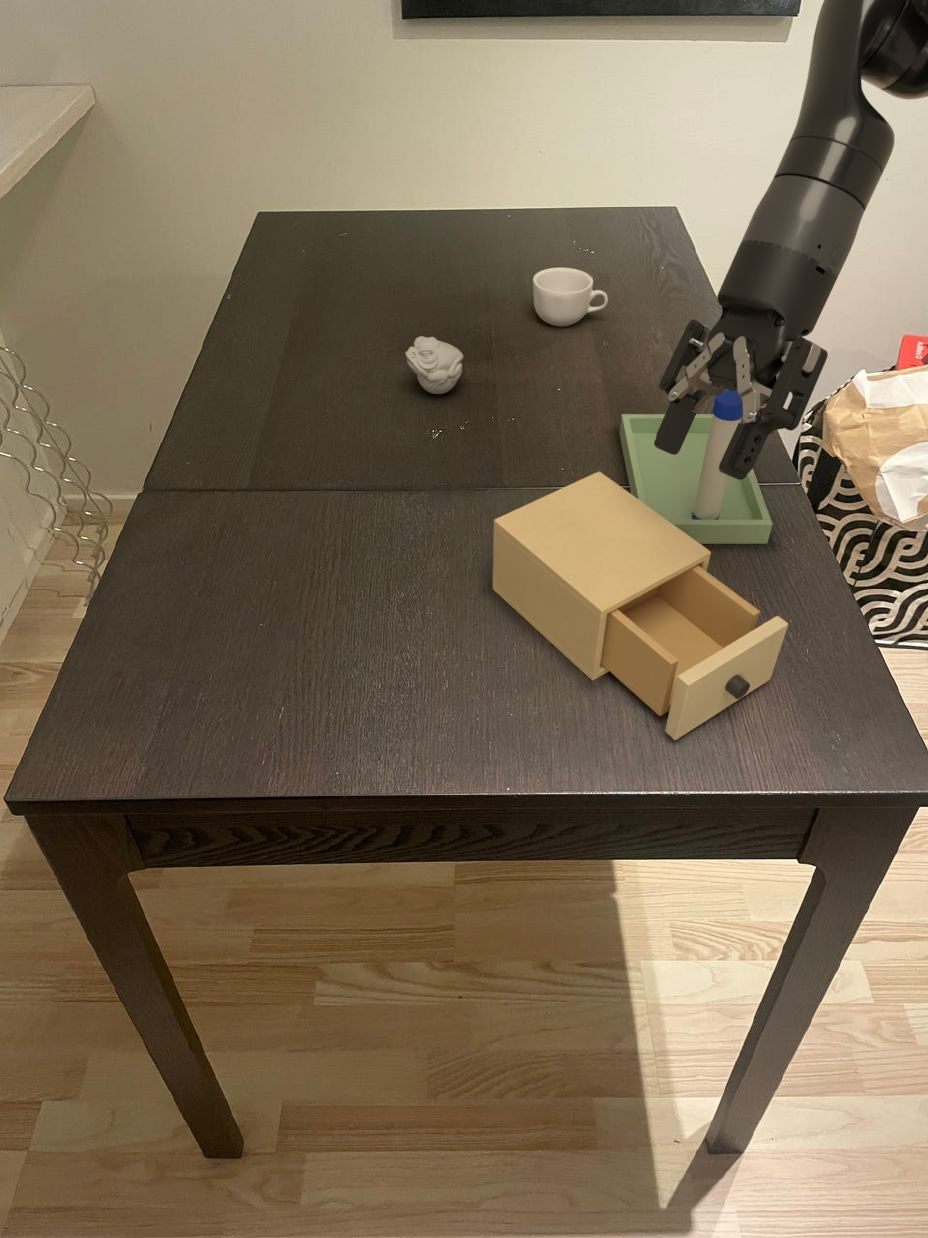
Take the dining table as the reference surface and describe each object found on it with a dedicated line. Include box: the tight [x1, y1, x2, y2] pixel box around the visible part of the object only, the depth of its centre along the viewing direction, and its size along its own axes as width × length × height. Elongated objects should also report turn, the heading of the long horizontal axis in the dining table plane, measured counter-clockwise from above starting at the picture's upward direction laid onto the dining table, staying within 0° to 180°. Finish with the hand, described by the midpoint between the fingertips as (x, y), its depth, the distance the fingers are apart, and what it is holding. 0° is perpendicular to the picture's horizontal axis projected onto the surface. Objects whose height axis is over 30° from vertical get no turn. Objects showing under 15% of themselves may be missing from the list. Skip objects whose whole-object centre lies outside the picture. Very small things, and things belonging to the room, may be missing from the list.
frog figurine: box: [404, 335, 464, 395], centre depth 113 cm, size 6×7×7 cm
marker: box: [692, 389, 743, 520], centre depth 92 cm, size 3×3×14 cm
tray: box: [618, 413, 773, 545], centre depth 101 cm, size 20×13×2 cm, turn 0°
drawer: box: [600, 565, 789, 741], centre depth 80 cm, size 15×11×7 cm
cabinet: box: [492, 471, 712, 682], centre depth 86 cm, size 14×12×8 cm
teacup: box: [532, 267, 609, 327], centre depth 126 cm, size 10×8×5 cm
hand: (696, 463), depth 74 cm, fingers open, 8 cm apart
